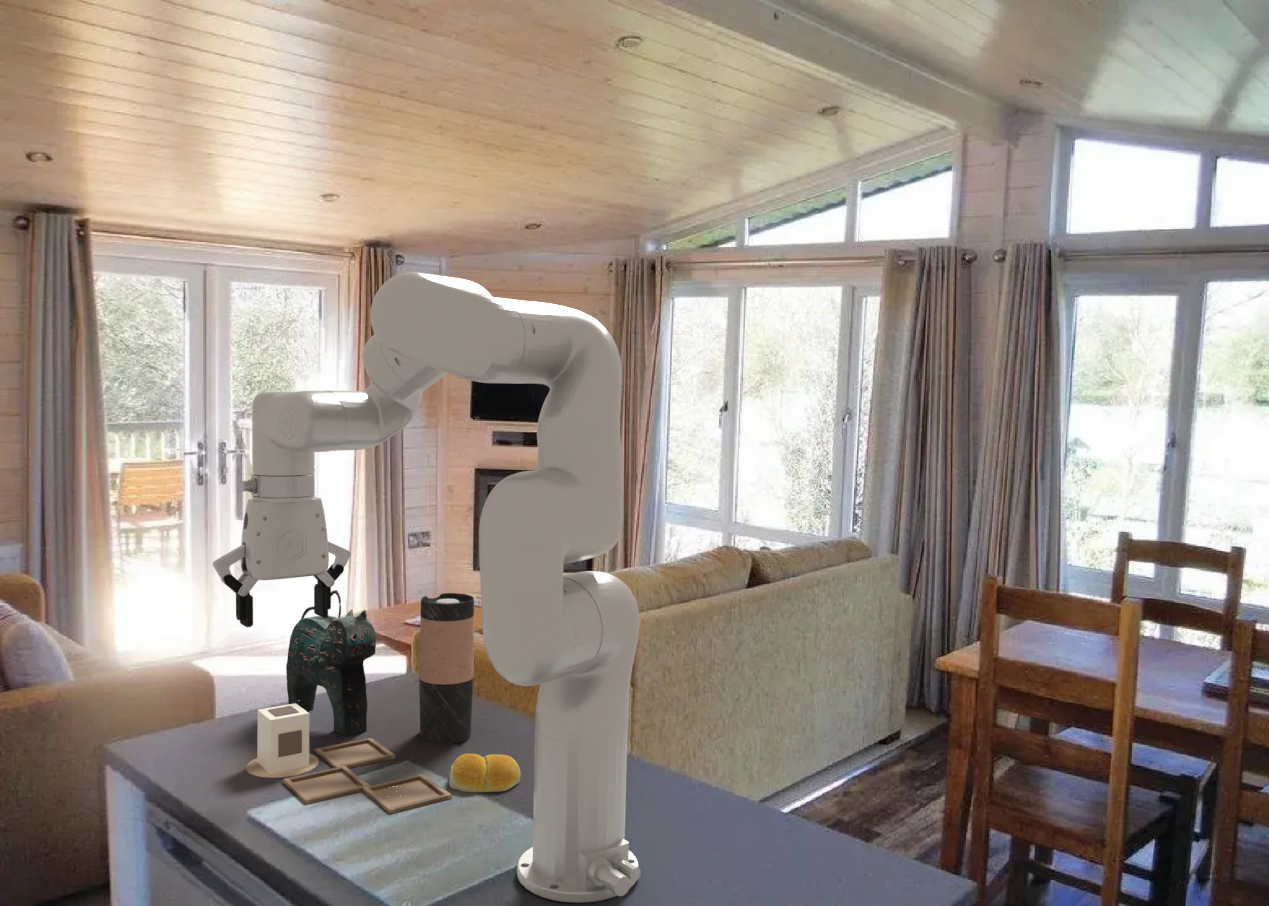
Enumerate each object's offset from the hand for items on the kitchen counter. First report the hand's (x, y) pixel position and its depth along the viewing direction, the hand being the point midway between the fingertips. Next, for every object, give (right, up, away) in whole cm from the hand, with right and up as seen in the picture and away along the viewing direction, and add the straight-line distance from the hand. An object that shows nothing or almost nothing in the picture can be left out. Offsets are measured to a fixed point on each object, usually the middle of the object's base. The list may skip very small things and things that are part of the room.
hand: (284, 620), depth 132 cm
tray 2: (+7, -20, -5) cm, 22 cm away
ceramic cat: (-1, -18, +19) cm, 27 cm away
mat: (-1, -19, +1) cm, 19 cm away
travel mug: (+18, -19, +15) cm, 30 cm away
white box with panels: (-1, -19, +1) cm, 19 cm away
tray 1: (+8, -19, +5) cm, 21 cm away
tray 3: (+17, -20, -7) cm, 28 cm away
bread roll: (+26, -21, -2) cm, 33 cm away
